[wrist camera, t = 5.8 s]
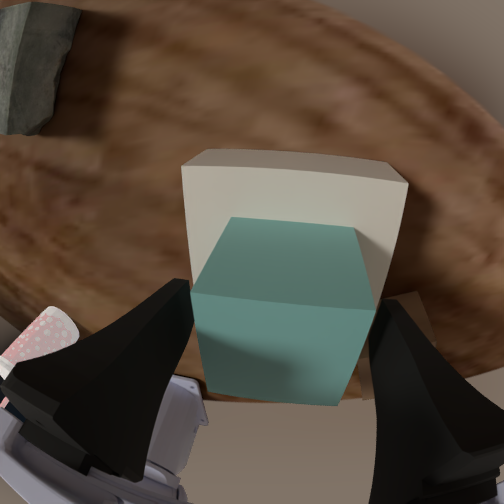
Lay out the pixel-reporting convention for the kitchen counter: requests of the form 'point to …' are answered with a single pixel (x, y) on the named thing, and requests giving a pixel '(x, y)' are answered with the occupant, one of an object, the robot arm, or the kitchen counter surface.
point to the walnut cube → (409, 303)
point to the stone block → (32, 62)
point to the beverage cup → (39, 340)
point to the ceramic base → (294, 199)
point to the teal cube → (282, 311)
